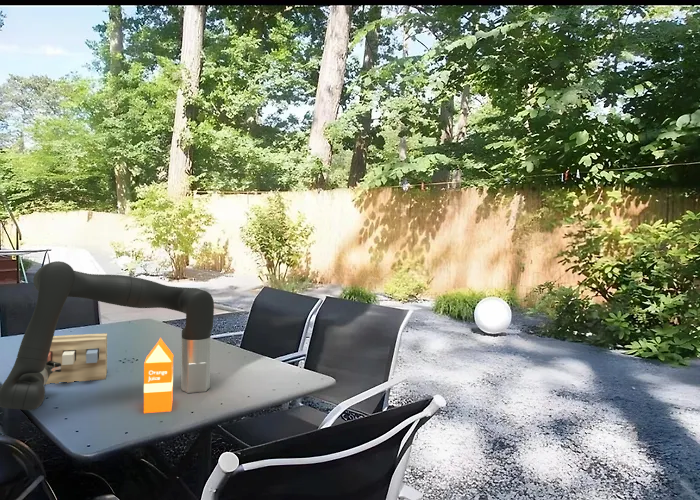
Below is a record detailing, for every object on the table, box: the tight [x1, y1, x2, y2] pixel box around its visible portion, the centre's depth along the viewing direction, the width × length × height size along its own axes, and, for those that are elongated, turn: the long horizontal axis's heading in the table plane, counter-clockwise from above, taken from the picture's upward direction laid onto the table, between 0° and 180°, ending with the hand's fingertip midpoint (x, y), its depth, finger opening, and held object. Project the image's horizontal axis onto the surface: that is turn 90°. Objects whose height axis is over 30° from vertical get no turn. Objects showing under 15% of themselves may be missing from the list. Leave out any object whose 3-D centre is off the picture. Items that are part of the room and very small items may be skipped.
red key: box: [47, 351, 52, 361], centre depth 170 cm, size 11×3×3 cm, turn 22°
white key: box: [62, 350, 76, 365], centre depth 173 cm, size 11×3×3 cm, turn 22°
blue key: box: [86, 348, 99, 363], centre depth 175 cm, size 11×3×3 cm, turn 22°
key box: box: [45, 332, 108, 385], centre depth 177 cm, size 10×22×14 cm, turn 112°
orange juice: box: [143, 337, 175, 414], centre depth 152 cm, size 8×9×20 cm
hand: (42, 361), depth 165 cm, fingers closed
